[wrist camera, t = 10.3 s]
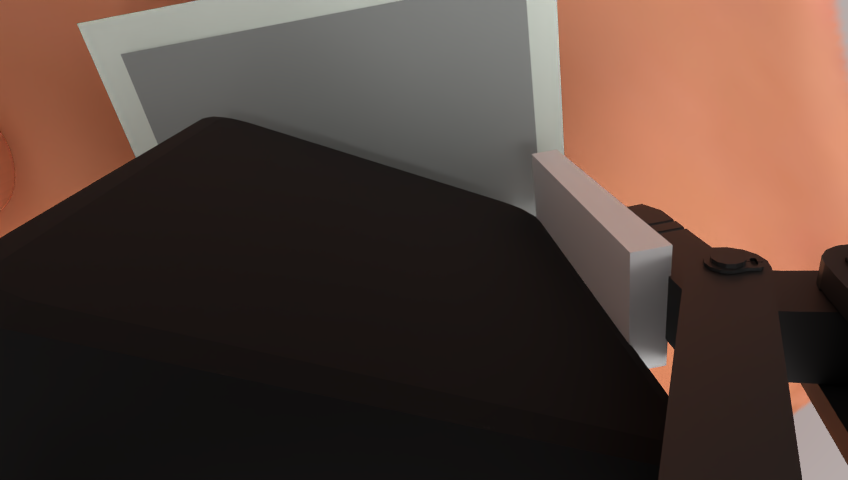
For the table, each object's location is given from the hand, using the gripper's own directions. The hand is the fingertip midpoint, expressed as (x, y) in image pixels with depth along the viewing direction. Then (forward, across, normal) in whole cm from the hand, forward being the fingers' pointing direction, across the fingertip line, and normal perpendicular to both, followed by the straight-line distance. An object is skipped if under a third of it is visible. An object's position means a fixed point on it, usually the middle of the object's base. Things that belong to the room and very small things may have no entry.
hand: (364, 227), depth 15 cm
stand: (+5, 0, 0) cm, 5 cm away
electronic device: (+1, 0, 0) cm, 1 cm away
